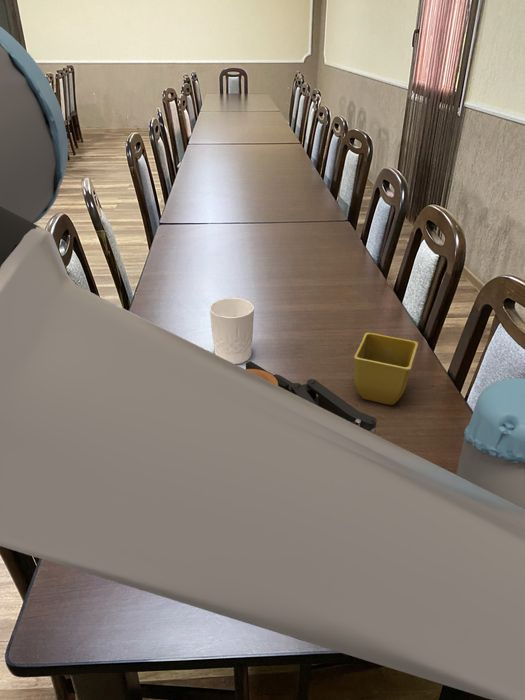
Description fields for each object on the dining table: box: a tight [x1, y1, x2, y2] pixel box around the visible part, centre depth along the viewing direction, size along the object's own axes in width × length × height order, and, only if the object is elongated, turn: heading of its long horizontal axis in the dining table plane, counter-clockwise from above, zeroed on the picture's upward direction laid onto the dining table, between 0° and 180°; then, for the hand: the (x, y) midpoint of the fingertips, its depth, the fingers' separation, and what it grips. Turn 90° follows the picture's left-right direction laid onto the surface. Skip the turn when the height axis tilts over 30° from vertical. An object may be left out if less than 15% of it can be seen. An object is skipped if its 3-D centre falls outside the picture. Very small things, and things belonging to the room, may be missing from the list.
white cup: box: [209, 297, 255, 365], centre depth 98 cm, size 8×8×10 cm
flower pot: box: [353, 332, 419, 406], centre depth 88 cm, size 9×9×9 cm
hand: (222, 384), depth 62 cm, fingers closed on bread, 7 cm apart
